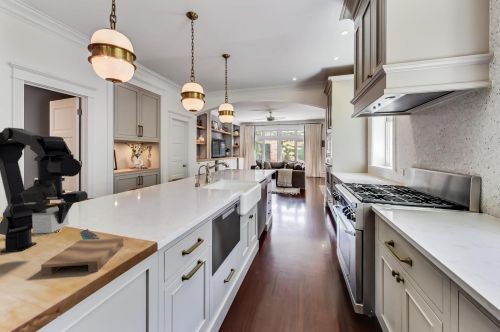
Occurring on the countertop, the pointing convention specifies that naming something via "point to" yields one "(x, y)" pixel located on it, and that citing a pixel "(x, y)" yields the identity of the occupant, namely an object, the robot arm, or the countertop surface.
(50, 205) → the condiment
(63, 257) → the stand
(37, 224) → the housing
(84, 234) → the knife
